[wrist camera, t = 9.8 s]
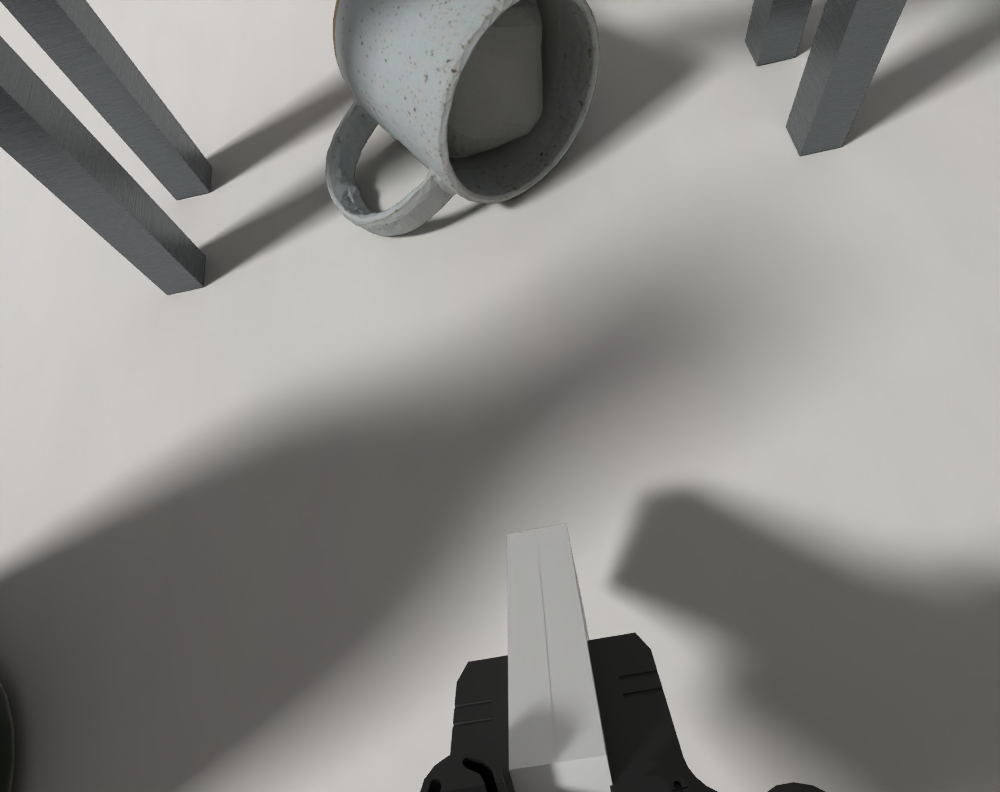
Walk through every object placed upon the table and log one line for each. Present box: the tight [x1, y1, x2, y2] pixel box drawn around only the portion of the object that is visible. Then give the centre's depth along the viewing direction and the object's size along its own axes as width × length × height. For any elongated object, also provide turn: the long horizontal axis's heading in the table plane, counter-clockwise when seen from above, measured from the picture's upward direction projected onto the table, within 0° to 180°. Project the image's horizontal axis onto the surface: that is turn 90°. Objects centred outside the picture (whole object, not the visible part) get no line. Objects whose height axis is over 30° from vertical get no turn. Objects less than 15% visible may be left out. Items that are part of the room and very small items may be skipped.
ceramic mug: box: [326, 0, 600, 237], centre depth 24 cm, size 11×8×8 cm
